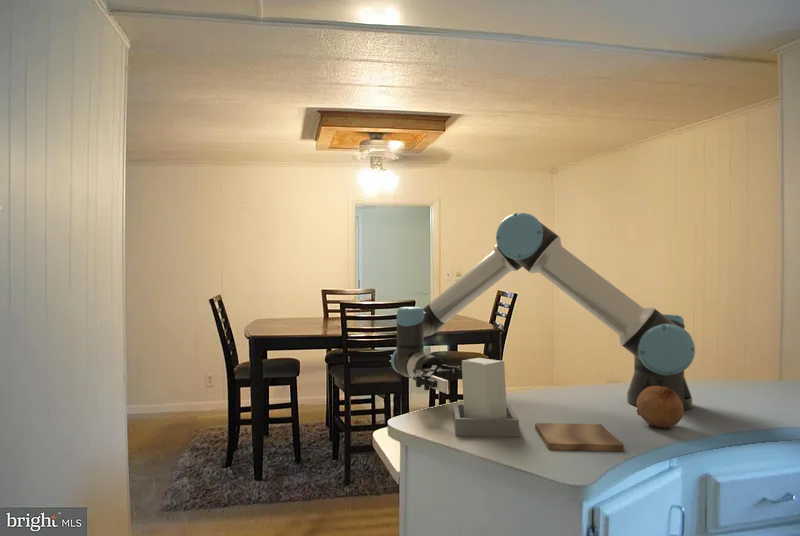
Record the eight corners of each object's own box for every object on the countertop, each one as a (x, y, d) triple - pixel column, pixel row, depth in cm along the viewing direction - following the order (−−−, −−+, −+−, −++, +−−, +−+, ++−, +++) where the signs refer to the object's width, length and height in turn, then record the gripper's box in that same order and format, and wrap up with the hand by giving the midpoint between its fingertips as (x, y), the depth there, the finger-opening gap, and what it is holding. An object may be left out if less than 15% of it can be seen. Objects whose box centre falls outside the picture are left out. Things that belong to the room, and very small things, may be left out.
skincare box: (507, 430, 114) (507, 361, 115) (487, 434, 111) (486, 363, 111) (481, 421, 121) (481, 356, 122) (461, 425, 118) (461, 358, 118)
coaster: (600, 429, 114) (600, 424, 115) (623, 451, 101) (623, 444, 101) (535, 428, 115) (535, 422, 115) (548, 449, 101) (548, 443, 101)
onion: (674, 444, 114) (689, 408, 110) (629, 427, 118) (641, 391, 113) (676, 418, 122) (690, 383, 117) (633, 403, 125) (645, 369, 121)
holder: (510, 419, 122) (510, 404, 122) (518, 437, 109) (518, 420, 109) (453, 418, 123) (453, 403, 123) (455, 435, 110) (455, 419, 110)
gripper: (467, 379, 144) (516, 395, 125) (383, 387, 133) (423, 406, 114) (467, 351, 144) (516, 363, 125) (383, 357, 133) (423, 371, 114)
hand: (472, 384), depth 120 cm, fingers open, 13 cm apart
